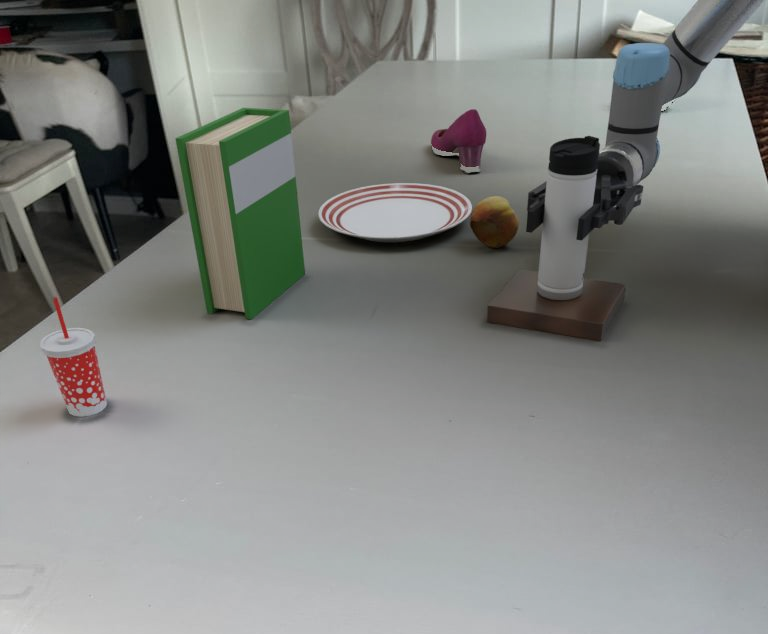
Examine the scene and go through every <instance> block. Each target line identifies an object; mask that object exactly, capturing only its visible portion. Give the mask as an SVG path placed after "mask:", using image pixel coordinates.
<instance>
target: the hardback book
mask: <svg viewBox="0 0 768 634" xmlns="http://www.w3.org/2000/svg"><path fill="white" fill-rule="evenodd" d="M174 139H175V143H176V144H175V145H176V149H177V155H178V156H177V157H178V160H179V165H180V167H179V168H180V171H181V177H182V182H183V188H184V194H185V198H186V205H187V210H188V215H189V221H190V226H191V227H190V228H191V231H192V239H193V242H194V248H195V249H194V250H195V254H196V259H197V265H198V270H199V276H200V280H201V281H200V282H201V286H202V287H201V288H202V292H203V297H204V304H205V308H206V313H207V314H211V315H213V314H215V313H216V312H217V311H218V310H227V311H234V312H240V313H244V317H245V319H246V320H253V319H254V318H255V317H256V316H257V315H259V314H260V313H261V312H263V310H264V309H266V308H267V307H268V306H269V305H271V304H272V303H273V302H274V301H275V300H277V298H279V297H280V296H281V295H282V294H284V293H285V292H286V291H287V290H288V289H290V288H291V287H292V286H294V284H295V283H297V281H299V280H300V279H301V278H303V277H304V276H305V275H306V267H305V259H304V258H305V257H304V248H303V239H302V227H301V219H300V218H301V217H300V207H299V199H298V188H297V177H296V168H295V166H296V165H295V157H294V148H293V147H294V146H293V137H292V127H291V117H290V110H289V109H276V108H275V109H274V108H258V107H257V108H256V107H242V108H239V109H237V110H235V111H233V112H230V113H229V114H226V115H224V116H221V117H220V118H217V119H215V120H213V121H211V122H208V123H206V124H204V125H202V126H199V127H197V128H195V129H193V130H191V131H188V132H186V133H184V134H181V135H179V136H177V137H175V138H174Z"/></svg>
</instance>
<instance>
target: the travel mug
mask: <svg viewBox="0 0 768 634" xmlns="http://www.w3.org/2000/svg"><path fill="white" fill-rule="evenodd" d="M600 149H601V144H600V138H599V137H596V136H591V135H586V136H584V137H572V138H565V139H562V140H559V141H556V142H554V143H553V144H552V145H551V146H550V148H549V155H548V161H549V162H548V167H547V175H546V181H547V184H546V195H545V206H544V217H543V223H542V229H541V240H540V250H539V251H540V252H539V262H538V263H539V264H538V272H539V273H538V284H537V291H538V293H539V294H540V295H541V296H543V297H545V298H547V299H551V300H571V299H574V298H576V297H578V296H580V294H581V293H582V288H583V280H584V278H585V272H586V270H585V269H586V264H587V256H588V247H589V239H590V233H589V234H588V235H587V236H586V237H585V238H584V239H583V240H576V238H577V230H578V221H579V218H580V217H581V216H582V215H583V214H584V213H585V212H586V211H587V210H588V209H590V208H591V207H592V206H593V200H594V193H595V185H596V177H597V176H596V174H597V165H598V164H597V162H598V157H599V152H600Z"/></svg>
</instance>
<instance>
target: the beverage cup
mask: <svg viewBox="0 0 768 634" xmlns="http://www.w3.org/2000/svg"><path fill="white" fill-rule="evenodd" d="M52 300H53V304H54V307H55V311H56V314H57V318H58V321H59V324H60V328H61V329H59V330H55V331H54V332H51V333H49V334H46V335H45V336H44V337H43V338H41V340H40V342H39V346H40V349H41V351H42V353H43V355H44V356H46V358H47V361H48V363H49V366H50V369H51V372H52V374H53V376H54V379H55V382H56V384H57V386H58V388H59V391H60V393H61V396H62V399H63V401H64V404H65V405H66V406H65V407H66V409H67V411H68V413H69V414H70V415H72V416H73V417H79V418H80V417H90V416H94V415H97V414H98V413H100V412H102V411H103V410H104V409H106V408H107V405H108V402H107V401H108V400H107V397H106V393H105V387H104V383H103V378H102V373H101V367H100V363H99V359H98V353H97V349H96V343H97V341H96V334H95V333H94V331H93V330H90V329H88V328H83V327H69V328H67V326H66V322H65V319H64V316H63V313H62V309H61V306H60V303H59V300H58V297H57V296H54V297H52Z"/></svg>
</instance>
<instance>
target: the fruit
mask: <svg viewBox="0 0 768 634" xmlns="http://www.w3.org/2000/svg"><path fill="white" fill-rule="evenodd" d="M469 226H470V229H471V231H472V233H473V234H474V236H475V238H476V239H477V240H478V241H479V242H480V243H482V244H484V245H486V246H487V247H489V248H490V249H499V248H501V247H504V246H506V245H508V244H509V243H510V242H511V241H512V240H513V239H514V238H515V237H516V234H517V233H518V230H519V227H520V220H519V218H518V216H517V215H516V213H515V211H514V210H513V209H512V208H511V203H510V202H509V200H508V199H506V198H505V197H503V196H498V195H493V196H489V197H486V198H484V199H482V200H480V201H479V202H478V203H477V204H476V205H475V206H474V208H473V209H472V211H471V213H470V219H469Z"/></svg>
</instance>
